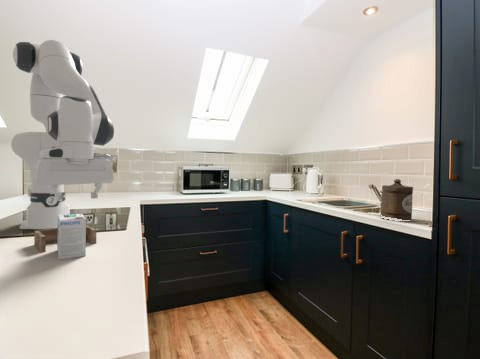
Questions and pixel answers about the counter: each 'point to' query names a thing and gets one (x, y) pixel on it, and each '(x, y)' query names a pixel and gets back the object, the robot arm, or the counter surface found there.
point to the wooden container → (397, 201)
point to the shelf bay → (51, 237)
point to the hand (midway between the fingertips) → (77, 199)
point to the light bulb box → (71, 236)
